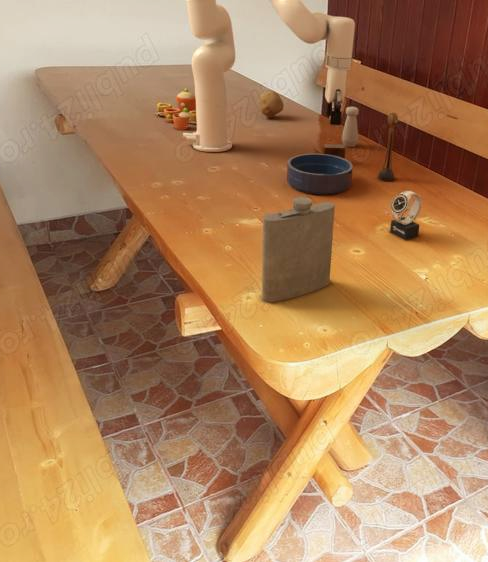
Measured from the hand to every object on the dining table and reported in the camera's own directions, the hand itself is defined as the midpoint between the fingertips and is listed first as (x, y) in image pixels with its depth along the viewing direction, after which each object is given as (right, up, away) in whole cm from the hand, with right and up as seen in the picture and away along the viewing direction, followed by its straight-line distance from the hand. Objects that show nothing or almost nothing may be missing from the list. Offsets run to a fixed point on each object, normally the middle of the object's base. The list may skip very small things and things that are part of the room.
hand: (333, 120), depth 197 cm
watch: (+18, -38, -38) cm, 56 cm away
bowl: (-4, -21, -11) cm, 24 cm away
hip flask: (-6, -52, -66) cm, 84 cm away
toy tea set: (-55, +9, +37) cm, 67 cm away
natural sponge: (-25, +13, +48) cm, 55 cm away
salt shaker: (+5, -3, +24) cm, 25 cm away
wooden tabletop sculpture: (+16, -19, -3) cm, 25 cm away
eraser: (0, -12, +6) cm, 14 cm away
